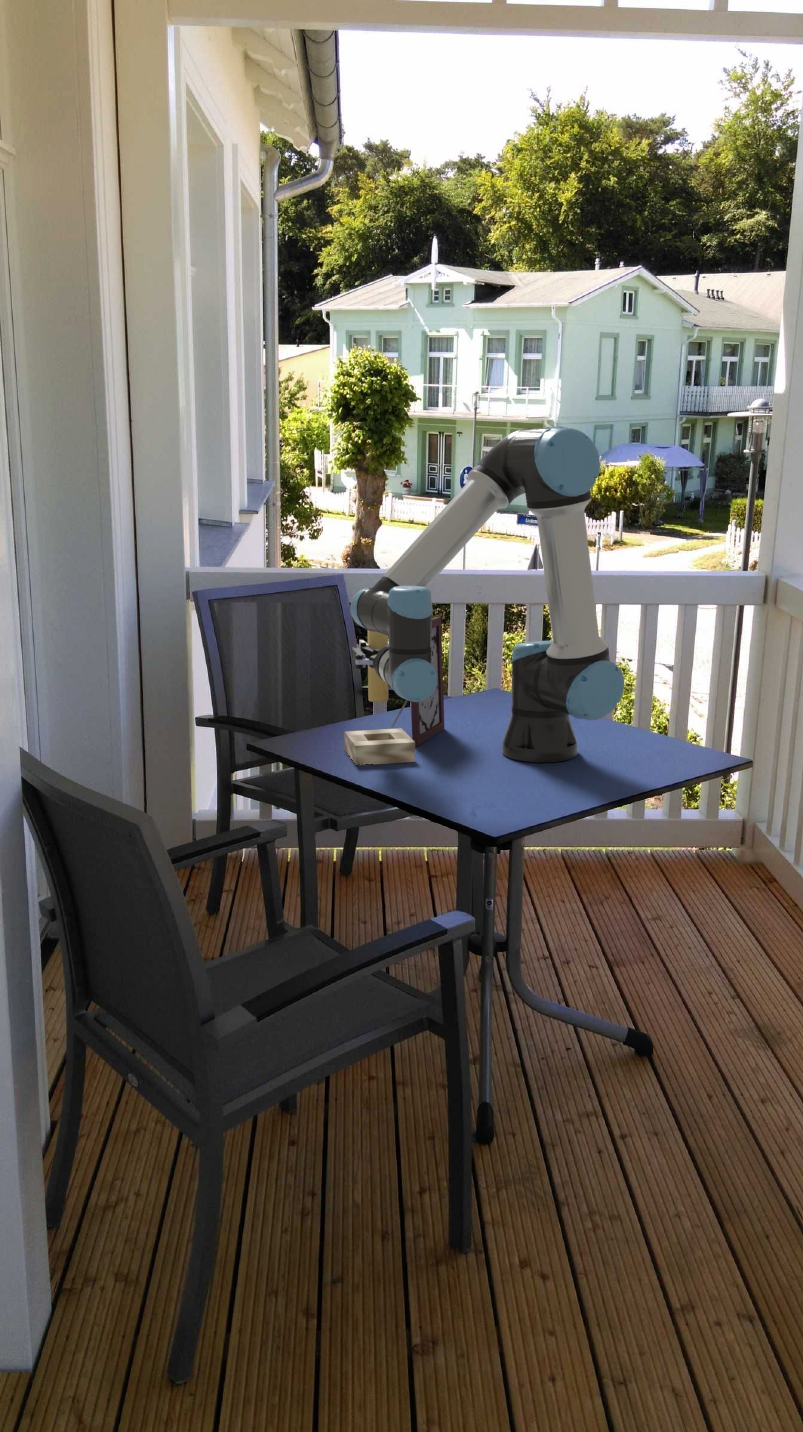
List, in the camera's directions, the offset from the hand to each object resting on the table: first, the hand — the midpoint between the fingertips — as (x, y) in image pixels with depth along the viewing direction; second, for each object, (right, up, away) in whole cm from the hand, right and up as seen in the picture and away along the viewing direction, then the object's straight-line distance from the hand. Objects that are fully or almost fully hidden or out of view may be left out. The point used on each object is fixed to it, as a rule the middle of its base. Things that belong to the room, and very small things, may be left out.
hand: (372, 646), depth 235 cm
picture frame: (+8, -19, +16) cm, 26 cm away
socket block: (+1, -22, 0) cm, 22 cm away
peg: (+1, -11, -3) cm, 11 cm away
